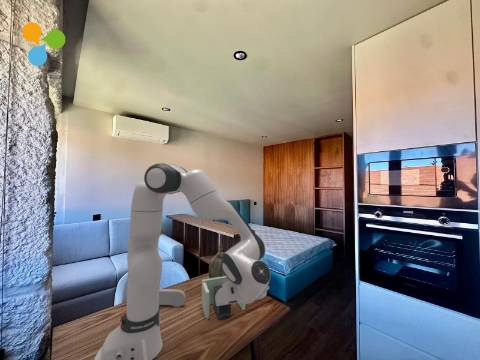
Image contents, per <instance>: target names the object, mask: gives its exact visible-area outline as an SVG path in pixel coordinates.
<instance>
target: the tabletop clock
mask: <svg viewBox="0 0 480 360" xmlns="http://www.w3.org/2000/svg"><path fill="white" fill-rule="evenodd" d="M220 247H221V248H220ZM223 247H224V246H223V244H222V243H221V244H219V246H218V248H217V250H218V251H217V253H216V254H215V255H214V256H213V257H211V258H210V260H209V262H208V264H209V265H208V279H210V278H217V277H223V276H225V274H224V273H223V271H222V267H221V258H222V255H223V254H224V253H225V252H224V251H223V249H224V248H223Z"/></svg>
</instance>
